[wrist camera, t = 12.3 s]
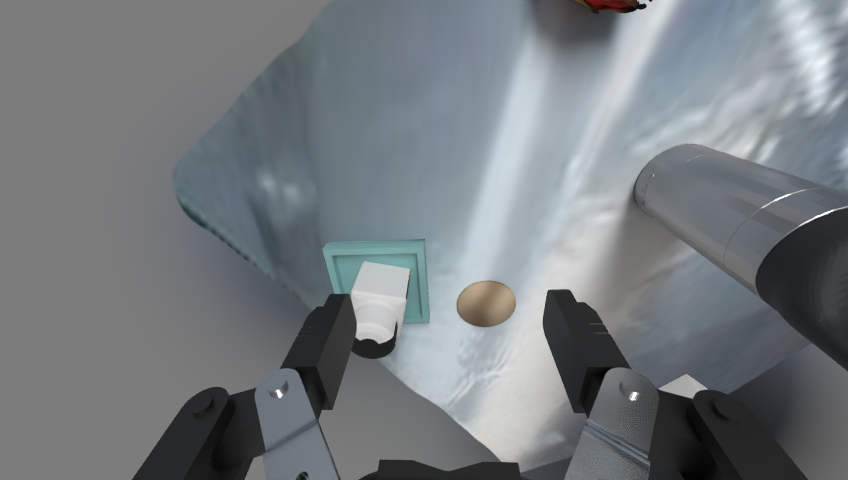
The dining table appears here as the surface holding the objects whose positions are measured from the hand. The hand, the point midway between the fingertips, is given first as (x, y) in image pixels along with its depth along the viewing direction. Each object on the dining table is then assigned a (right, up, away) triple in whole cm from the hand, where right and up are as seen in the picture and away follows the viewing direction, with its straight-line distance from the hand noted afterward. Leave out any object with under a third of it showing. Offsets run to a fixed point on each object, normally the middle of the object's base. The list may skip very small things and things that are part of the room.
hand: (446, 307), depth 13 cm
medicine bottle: (-7, -4, +34) cm, 35 cm away
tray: (-7, -3, +35) cm, 36 cm away
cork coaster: (+9, -7, +36) cm, 38 cm away
